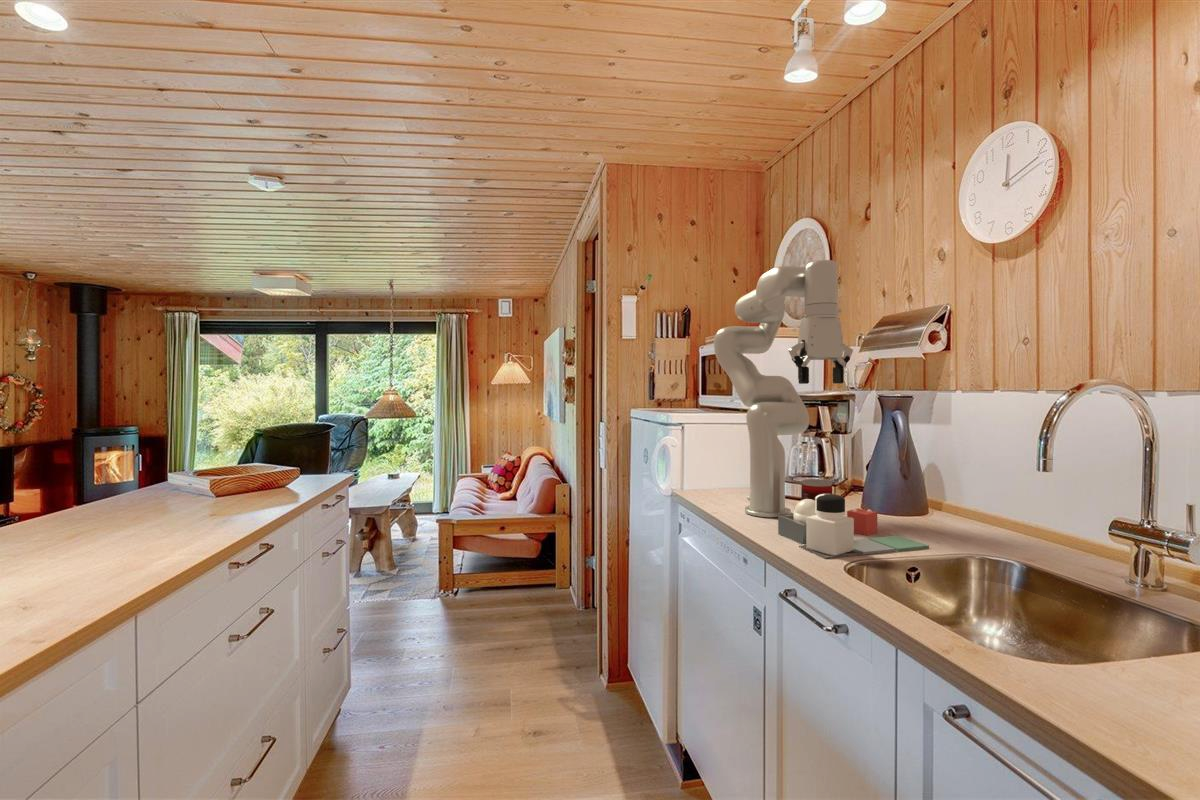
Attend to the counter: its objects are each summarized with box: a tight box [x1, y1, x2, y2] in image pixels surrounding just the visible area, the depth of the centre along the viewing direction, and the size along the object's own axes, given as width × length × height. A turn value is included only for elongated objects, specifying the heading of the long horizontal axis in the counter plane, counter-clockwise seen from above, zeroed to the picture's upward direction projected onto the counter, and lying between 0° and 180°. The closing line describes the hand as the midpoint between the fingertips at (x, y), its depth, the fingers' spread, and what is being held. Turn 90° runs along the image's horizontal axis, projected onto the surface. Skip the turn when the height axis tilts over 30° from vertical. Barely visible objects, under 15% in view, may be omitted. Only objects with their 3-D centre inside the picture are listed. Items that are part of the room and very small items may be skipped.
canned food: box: [800, 478, 833, 501], centre depth 151 cm, size 8×8×11 cm
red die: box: [846, 507, 878, 536], centre depth 142 cm, size 5×5×6 cm
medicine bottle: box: [806, 493, 855, 556], centre depth 125 cm, size 7×7×12 cm
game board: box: [798, 534, 930, 560], centre depth 128 cm, size 9×27×1 cm, turn 105°
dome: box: [793, 499, 817, 524], centre depth 137 cm, size 7×7×6 cm
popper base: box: [777, 514, 807, 545], centre depth 137 cm, size 10×10×4 cm
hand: (821, 383), depth 139 cm, fingers open, 9 cm apart
